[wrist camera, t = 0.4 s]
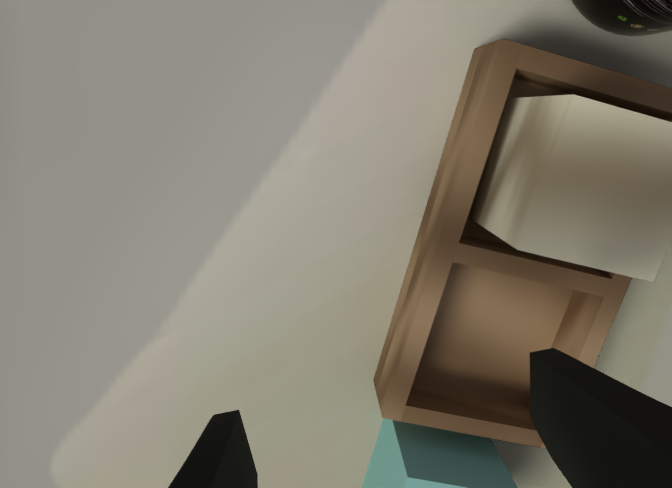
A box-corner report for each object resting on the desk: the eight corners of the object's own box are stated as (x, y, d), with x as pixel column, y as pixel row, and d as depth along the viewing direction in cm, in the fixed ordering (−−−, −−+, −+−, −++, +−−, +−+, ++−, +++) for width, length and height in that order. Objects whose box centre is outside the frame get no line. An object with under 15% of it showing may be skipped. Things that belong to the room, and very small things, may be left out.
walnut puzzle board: (527, 410, 24) (595, 503, 19) (373, 380, 23) (394, 468, 18) (653, 100, 21) (787, 97, 15) (474, 49, 20) (543, 23, 14)
